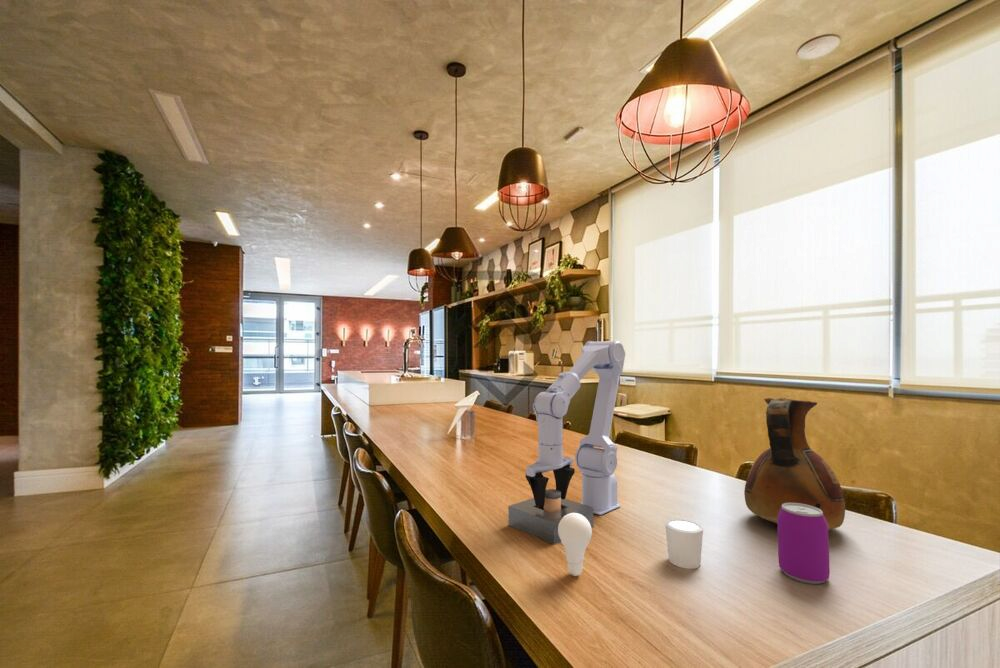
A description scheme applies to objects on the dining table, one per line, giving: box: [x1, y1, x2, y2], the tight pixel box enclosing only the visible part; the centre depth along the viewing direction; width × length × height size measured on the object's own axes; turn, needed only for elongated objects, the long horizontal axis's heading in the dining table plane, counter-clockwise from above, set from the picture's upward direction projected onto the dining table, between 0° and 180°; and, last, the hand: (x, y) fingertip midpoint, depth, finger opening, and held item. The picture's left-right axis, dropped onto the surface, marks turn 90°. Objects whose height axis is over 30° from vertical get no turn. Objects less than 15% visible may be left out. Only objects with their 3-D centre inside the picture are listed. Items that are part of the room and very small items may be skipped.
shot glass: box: [664, 518, 704, 570], centre depth 85 cm, size 7×7×7 cm
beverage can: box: [777, 503, 831, 585], centre depth 80 cm, size 8×8×12 cm
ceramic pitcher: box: [743, 397, 846, 531], centre depth 104 cm, size 20×20×30 cm
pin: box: [544, 488, 561, 513], centre depth 102 cm, size 4×4×8 cm
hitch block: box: [507, 497, 594, 545], centre depth 102 cm, size 14×14×4 cm
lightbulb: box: [558, 513, 593, 577], centre depth 80 cm, size 6×6×11 cm
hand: (550, 501), depth 103 cm, fingers open, 7 cm apart
